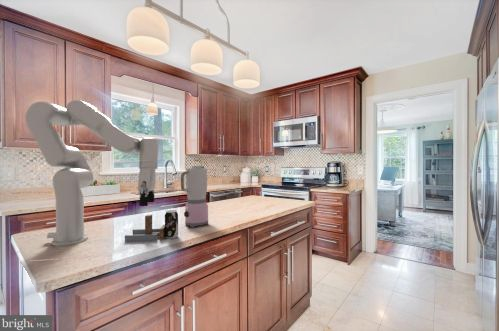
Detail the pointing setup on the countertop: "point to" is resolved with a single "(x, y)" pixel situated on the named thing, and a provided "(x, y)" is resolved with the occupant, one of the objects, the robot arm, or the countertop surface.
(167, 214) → the beverage can
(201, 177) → the blender
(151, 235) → the channel
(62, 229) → the robot arm
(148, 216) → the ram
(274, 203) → the countertop surface
